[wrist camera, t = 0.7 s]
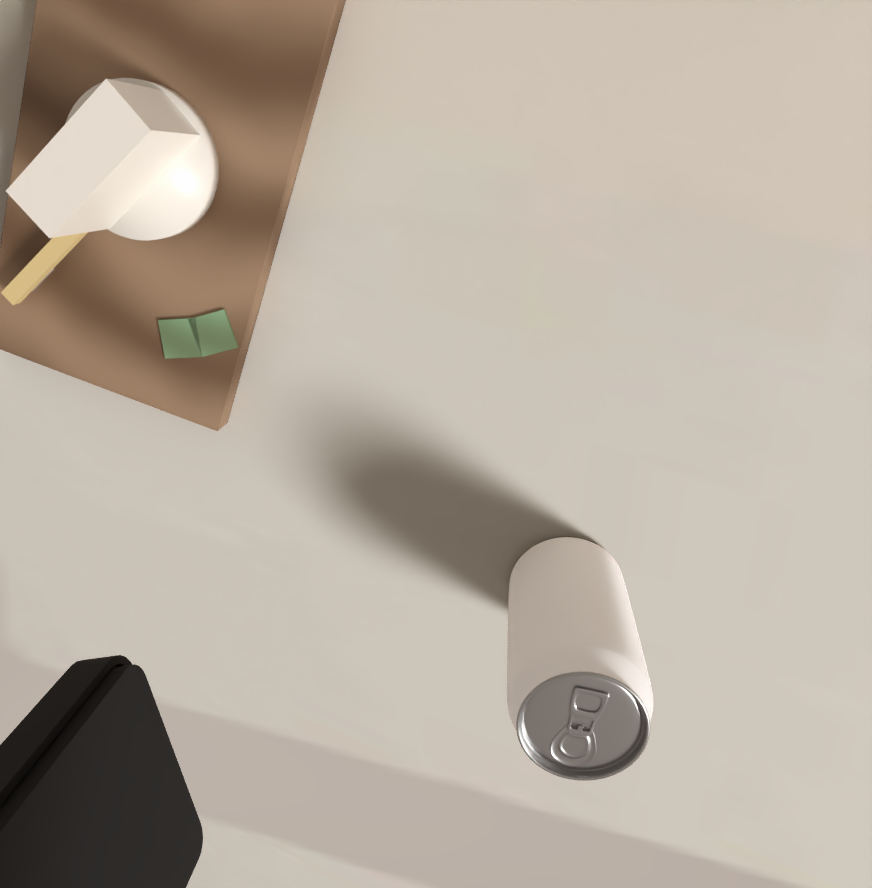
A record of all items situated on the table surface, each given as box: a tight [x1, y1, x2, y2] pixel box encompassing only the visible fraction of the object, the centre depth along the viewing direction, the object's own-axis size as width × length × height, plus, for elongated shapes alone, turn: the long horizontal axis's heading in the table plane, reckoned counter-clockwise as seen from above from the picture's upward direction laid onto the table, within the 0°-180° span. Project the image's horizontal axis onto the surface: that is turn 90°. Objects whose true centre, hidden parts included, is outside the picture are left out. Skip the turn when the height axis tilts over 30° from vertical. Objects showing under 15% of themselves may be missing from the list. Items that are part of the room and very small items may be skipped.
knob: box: [1, 78, 219, 305], centre depth 34 cm, size 14×7×6 cm, turn 130°
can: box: [507, 537, 653, 780], centre depth 38 cm, size 6×6×12 cm
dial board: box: [0, 0, 346, 431], centre depth 37 cm, size 24×13×2 cm, turn 160°
